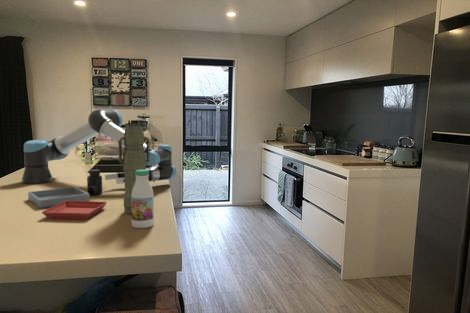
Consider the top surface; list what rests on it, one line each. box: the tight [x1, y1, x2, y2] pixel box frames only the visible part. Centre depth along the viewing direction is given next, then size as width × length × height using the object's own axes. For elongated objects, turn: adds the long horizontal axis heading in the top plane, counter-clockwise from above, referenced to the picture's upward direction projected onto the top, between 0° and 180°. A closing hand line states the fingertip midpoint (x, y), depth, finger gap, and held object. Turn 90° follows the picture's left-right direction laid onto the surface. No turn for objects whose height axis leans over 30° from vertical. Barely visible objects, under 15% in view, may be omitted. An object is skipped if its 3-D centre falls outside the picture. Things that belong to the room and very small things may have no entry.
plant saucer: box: [41, 200, 107, 220], centre depth 140 cm, size 18×18×3 cm
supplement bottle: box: [86, 169, 103, 197], centre depth 172 cm, size 7×7×12 cm
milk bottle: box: [131, 169, 155, 229], centre depth 125 cm, size 8×8×20 cm
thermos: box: [117, 124, 151, 216], centre depth 142 cm, size 9×12×35 cm
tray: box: [27, 186, 91, 210], centre depth 159 cm, size 20×20×4 cm
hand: (110, 179), depth 176 cm, fingers open, 13 cm apart
